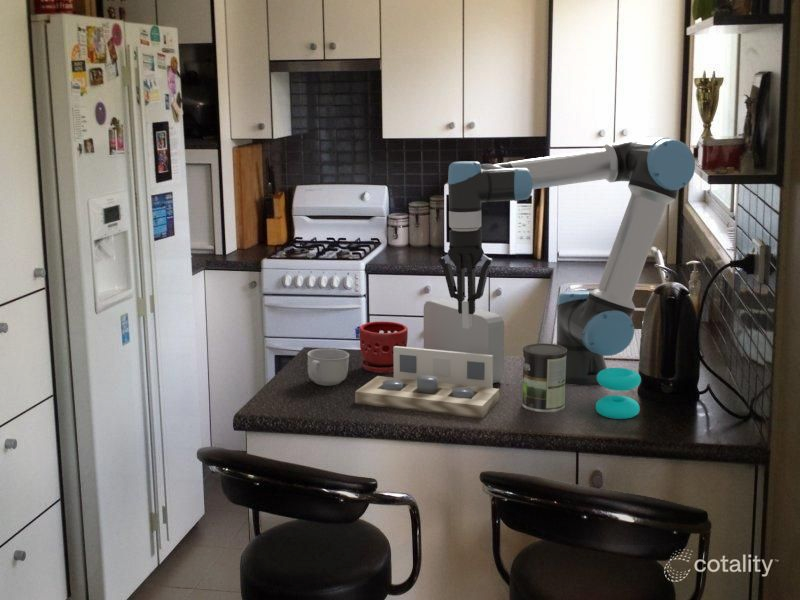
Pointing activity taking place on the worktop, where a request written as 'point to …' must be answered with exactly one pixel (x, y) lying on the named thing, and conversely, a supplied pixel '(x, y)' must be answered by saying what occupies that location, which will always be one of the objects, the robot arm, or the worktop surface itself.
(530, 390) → the coffee can
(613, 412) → the donuts
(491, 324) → the rounded white slab
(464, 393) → the button
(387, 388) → the button
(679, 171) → the robot arm
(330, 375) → the teacup
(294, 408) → the worktop surface
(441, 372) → the pattern card
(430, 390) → the button centre
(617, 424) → the worktop surface
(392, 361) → the plant pot
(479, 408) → the button board
